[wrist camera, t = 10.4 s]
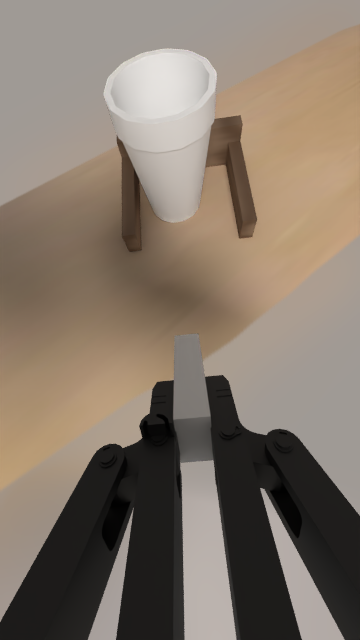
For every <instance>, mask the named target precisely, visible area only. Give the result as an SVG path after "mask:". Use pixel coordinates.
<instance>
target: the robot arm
mask: <svg viewBox="0 0 360 640" xmlns="http://www.w3.org/2000/svg"><path fill="white" fill-rule="evenodd" d="M139 427H140V430H141V434H142V439H141V440H139V441H138V442H137V443H135V444H133V445H130V446H127V447H125V448H122V447H121V446H120V445H117V444H108V445H105V446H103V447H102V448H100V449H99V450H98V451H97V452H96V453H95V454H94V456H93V457H92V459H91V461H90V462H89V464H88V466H87V468H86V470H85V471H84V473H83V475H82V477H81V478H80V480H79V482H78V484H77V486H76V488H75V489H74V491H73V493H72V495H71V496H70V498H69V500H68V502H67V504H66V505H65V507H64V509H63V511H62V513H61V514H60V516H59V518H58V520H57V522H56V523H55V525H54V527H53V529H52V531H51V532H50V534H49V536H48V538H47V539H46V541H45V543H44V545H43V547H42V548H41V550H40V552H39V554H38V555H37V558H36V559H35V561H34V563H33V564H32V566H31V568H30V570H29V572H28V573H27V575H26V577H25V579H24V580H23V582H22V584H21V586H20V588H19V589H18V591H17V593H16V595H15V597H14V599H13V600H12V602H11V604H10V606H9V607H8V609H7V611H6V613H5V614H4V616H3V618H2V620H1V622H0V640H88V637H89V634H90V631H91V629H92V625H93V622H94V620H95V617H96V614H97V611H98V608H99V605H100V603H101V599H102V597H103V594H104V591H105V588H106V585H107V582H108V579H109V577H110V574H111V571H112V568H113V565H114V562H115V559H116V556H117V554H118V551H119V548H120V545H121V542H122V539H123V536H124V533H125V530H126V528H127V524H128V522H129V519H130V516H131V513H132V510H133V507H134V510H133V518H132V525H131V532H130V540H129V548H128V555H127V562H126V570H125V577H124V585H123V592H122V600H121V607H120V614H119V623H118V629H117V637H116V640H184V590H183V587H184V586H183V532H182V531H183V530H182V479H181V470H180V462H181V463H183V462H195V461H208V460H214V467H215V480H216V485H217V492H218V500H219V508H220V515H221V523H222V530H223V537H224V546H225V554H226V561H227V568H228V576H229V584H230V591H231V599H232V607H233V615H234V622H235V630H236V638H237V640H302V639H301V636H300V632H299V628H298V625H297V621H296V617H295V614H294V610H293V606H292V603H291V599H290V595H289V592H288V588H287V585H286V581H285V577H284V574H283V570H282V567H281V563H280V559H279V556H278V552H277V548H276V545H275V541H274V537H273V534H272V530H271V526H270V523H269V519H268V516H267V512H266V508H265V505H264V501H263V497H262V494H261V491H260V488H263V489H265V491H266V493H267V495H268V497H269V499H270V500H271V502H272V504H273V506H274V508H275V510H276V511H277V513H278V515H279V517H280V519H281V521H282V523H283V525H284V527H285V528H286V530H287V532H288V534H289V536H290V538H291V540H292V542H293V544H294V545H295V547H296V549H297V551H298V553H299V555H300V557H301V558H302V560H303V562H304V564H305V566H306V568H307V570H308V571H309V573H310V575H311V577H312V579H313V581H314V583H315V585H316V587H317V588H318V590H319V592H320V594H321V596H322V598H323V600H324V602H325V603H326V605H327V607H328V609H329V611H330V613H331V615H332V617H333V618H334V620H335V622H336V624H337V626H338V628H339V630H340V632H341V633H342V635H343V637H344V639H345V640H360V516H359V514H358V513H357V512H356V511H355V509H354V508H353V507H352V506H351V504H350V503H349V502H348V501H347V499H346V498H345V497H344V495H343V494H342V493H341V492H340V490H339V489H338V488H337V486H336V485H335V484H334V483H333V481H332V480H331V479H330V478H329V477H328V475H327V474H326V473H325V471H324V470H323V469H322V467H321V466H320V465H319V464H318V462H317V461H316V460H315V459H314V457H313V456H312V455H311V454H310V452H309V451H308V450H307V449H306V447H305V446H304V445H303V443H302V442H301V441H300V440H299V439H298V437H296V436H295V435H294V434H293V433H291V432H289V431H287V430H282V429H275V430H272V431H270V432H269V433H268V434H267V435H262V434H257V433H254V432H251V431H249V430H247V429H246V428H244V427H243V426H242V424H241V423H240V421H239V419H238V415H237V411H236V408H235V404H234V400H233V397H232V393H231V389H230V385H229V381H228V380H227V379H226V378H225V377H224V376H223V375H219V376H208V377H205V375H204V368H203V361H202V354H201V348H200V341H199V334H198V333H197V334H187V335H177V336H175V345H174V380H172V381H162V382H157V383H156V385H155V386H154V388H153V391H152V399H151V407H150V414H148V415H147V416H145V417H144V418H143V419H142V420H141V423H140V426H139Z"/></svg>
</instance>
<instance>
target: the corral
mask: <svg viewBox="0 0 360 640" xmlns="http://www.w3.org/2000/svg"><path fill="white" fill-rule="evenodd" d="M241 131H242V120H241V115H240V116H233V117H226V118H219V119H214V123H213V124H212V125H211V131H210V138H209V145H208V152H207V158H206V165H205V167H209V166H217V165H224V164H226V167H227V172H228V178H229V183H230V189H231V194H232V200H233V205H234V211H235V217H236V222H237V228H238V233H239V238H247V237H252V235H253V232H254V228H255V225H256V221H257V217H256V213H255V208H254V203H253V199H252V194H251V189H250V185H249V180H248V175H247V171H246V166H245V161H244V157H243V152H242V147H241V143H240V139H241ZM117 144H118V148H119V151H120V154H121V157H122V237H123V239H124V241H125V243H126V245H127V248H128V250H129V251H137V250H141V223H140V192H139V178H138V175H137V173H136V171H135V169H134V167H133V164H132V162H131V160H130V158H129V155H128V153H127V151H126V149H125V146H124V144H123V142H122V141H121V140H120V139H119V138H118V136H117Z"/></svg>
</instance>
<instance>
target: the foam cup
mask: <svg viewBox="0 0 360 640" xmlns="http://www.w3.org/2000/svg"><path fill="white" fill-rule="evenodd" d="M216 82H217V73H216V71H215V70H214V68H213V67H212V65H211V64H210V62H209V61H208V59H206V58H204V57H202V56H200V55H198V54H196V53H194V52H192V51H190V50H181V49H170V48H166V49H160V50H154V51H149V52H144V53H141V54H139V55H137V56H135V57H133V58H131V59H129V60H127V61H125V62H123V63H122V64H121V65H120V66H119V67H118V68H117V69H116V70H115V71H114V72H113V73H112V74H111V75H110V76H109V77H108V80H107V83H106V86H105V90H104V93H103V95H104V98H105V101H106V104H107V107H108V111H109V113H110V117H111V120H112V123H113V126H114V128H115V131H116V133H117V136H118V138H119V139H120V140H121V141H122V142H123V144H124V146H125V149H126V151H127V153H128V155H129V158H130V160H131V162H132V164H133V167H134V169H135V171H136V173H137V175H138V178H139V180H140V182H141V184H142V187H143V189H144V191H145V193H146V196H147V198H148V200H149V202H150V205H151V207H152V209H153V211H154V213H155V215H156V216H158V217H159V218H160V219H161V220H163V221H167V222H172V223H175V222H181V221H185V220H187V219H188V218H190V217H192V216H193V215H194V214H195V213H196V211H197V210H198V208H199V204H200V199H201V192H202V185H203V178H204V172H205V165H206V158H207V152H208V145H209V138H210V131H211V125H212V124H213V123H214V118H215V107H216V84H217V83H216Z"/></svg>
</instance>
